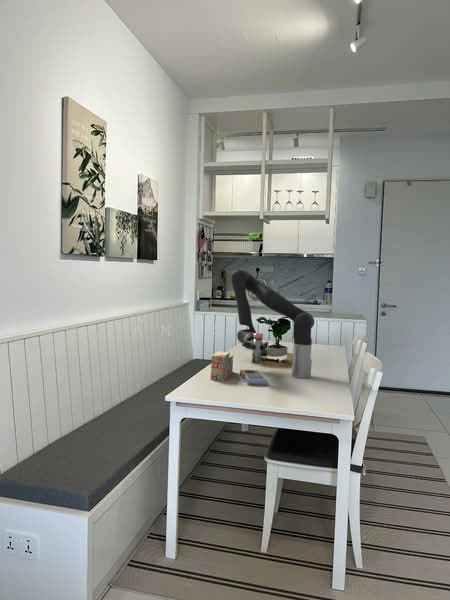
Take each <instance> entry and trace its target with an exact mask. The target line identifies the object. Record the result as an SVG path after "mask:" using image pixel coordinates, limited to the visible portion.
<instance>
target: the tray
mask: <svg viewBox="0 0 450 600" xmlns="http://www.w3.org/2000/svg"><path fill="white" fill-rule="evenodd" d="M244 382H245V384H246V385H247V386H254V387H255V386H259V387H260V386H261V387H262V386H263V387H264V386H266V387H267V385H268V379H267V377H266V376H265V375H264V374H261V375H246V374H245V380H244Z"/></svg>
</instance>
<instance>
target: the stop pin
mask: <svg viewBox="0 0 450 600" xmlns="http://www.w3.org/2000/svg"><path fill="white" fill-rule="evenodd" d="M253 338H254V342H253V344H254V345H255V346H254V349H253V350H252V359H251V363H252V364H258V365H259V364H261V347H262V342H263V338H264V334H263V333H259V332H256V333H254V334H253Z"/></svg>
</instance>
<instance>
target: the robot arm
mask: <svg viewBox="0 0 450 600" xmlns="http://www.w3.org/2000/svg"><path fill="white" fill-rule="evenodd" d="M230 282H231V285H232V288H233V289H232V290H233V292H234V295H235V296H234V297H235V301H236V307H237V315H238V324H239V325H240V326H246V327H248V328H246V329H240V330H238V331H237V334H236V338H237V340H238V341H239V343H240V344H241V346H242V347H243V348H245V349H246V348H249V349H248V350H251V351H253V349H254V346H255V345H254V344H253V342H254V338H253V334H254V333H257V332H256V329H255V326H254V324H253V320H252V319H253V318H252V311H251V307H250V303H249V300H248V296H247V293H246V292H247V291H249V292H250V293H251V294H253V295H254V296H255V297H256V298H257V300H258V301H260V302H261V304H263V305H265V307H267V308H268V309H271V311H273V312H275V313H278V314H280V315H283V316H285V317H287V318H289V319H290V320H291V321H293V328H292V329H293V331H292V332H293V334H292V337H293V349H292V351H293V352H292V365H291V376H292V377H294V378H297V379H298V378H299V379H308V378H309V379H310V378H311V377H312V376H311V374H312V363H313V361H312V357H311V356H312V344H313V339H312V328H313V327H314V325H315V318H314V316H313V315H312V314H311V313H309V312H307V311H305V310H304V309H301V308H299V307H298V306H296V305H295V304H293V303H292V302H291V301H290V300H288V299H287V298H286V297H285V296H283V295H281V294H280V293H278V292H277V291H276V290H274V289H272V288H271V287H269V286H267V285H266V284H264V283H262V282H260V281H259V280H258V279H256V278H255V277H254V276H253V275H252V274H250V273H249V272H248V271H247V270H243V269H236V270H233V272H232V273H231V275H230ZM268 347H269V341H262V347H261V349H262V350H264V349H267V348H268Z"/></svg>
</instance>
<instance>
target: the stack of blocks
mask: <svg viewBox="0 0 450 600" xmlns="http://www.w3.org/2000/svg"><path fill="white" fill-rule="evenodd" d="M210 365H211V366H210V368H211V369H210V381H218V382H219V381H220V382H224V381H225V380H226V379H228V377H229V376H230V375H231V374H232V373H233V365H234V355H233V354H230V351H220V350H219V351H216V352H215V353H213V354H212V355H211V364H210Z"/></svg>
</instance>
